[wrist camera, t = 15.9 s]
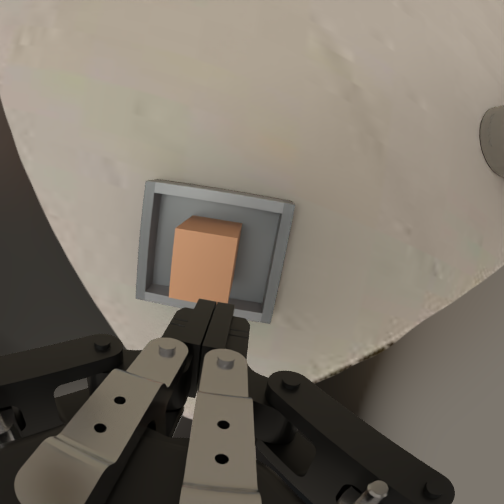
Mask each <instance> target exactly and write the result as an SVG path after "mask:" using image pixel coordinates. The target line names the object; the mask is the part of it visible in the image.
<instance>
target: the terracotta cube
mask: <svg viewBox="0 0 504 504" xmlns="http://www.w3.org/2000/svg"><path fill="white" fill-rule="evenodd" d="M241 228H242V223H237V222H231V221H225V220H219V219H213V218H207V217H200V216H194V215H193V216H191V217H190V218H188V219H187V220H186V221H184V222H183V223H182V224H180V225H179V226H178V227H176V228H175V236H174V245H173V255H172V265H171V276H170V287H169V298H174V299H179V300H184V301H190V302H195V303H197V301H198V299H199V298H200V299H205V300H211V301H216V305H217V302H222V303H228V300H229V296H230V292H231V287H232V283H233V278H234V271H235V265H236V259H237V252H238V246H239V240H240V234H241Z"/></svg>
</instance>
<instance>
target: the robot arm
mask: <svg viewBox="0 0 504 504" xmlns="http://www.w3.org/2000/svg"><path fill="white" fill-rule="evenodd" d="M480 140H481V147H482V151H483V154H484V156H485V159H486V161H487V163H488V164H489V166H490V167H491V168H492V170H493V171H494V172H495V173H497V174H498V175H500V176H502V177H504V106H498V107H494V108H491V109H489V110H488V111H487V112H486V114H485V115H484V117H483V119H482V122H481V128H480ZM234 308H235V305H234V304H228V303H222V302H217V305H216V301H211V300H205V299H200V298H199V299H198V301H197V304H196V306H195V308H194V309H192V308H187V307H184V308H182V309H180V310H179V311H177V312H176V313H175V315H174V317H173V319H172V320H171V322H170V324H169V325H168V327H167V329H166V330H165V332H164V334H163V336H162V337H161V338H157V339H154V340H151V341H150V342H149V343H148V344H147V345H146V346H145V348H144V349H143V350H123V344H122V342H121V341H120V340H119V339H118V338H117V337H115V336H112V335H108V334H95V335H91V336H87V337H83V338H79V339H75V340H70V341H66V342H62V343H58V344H54V345H49V346H45V347H40V348H36V349H31V350H27V351H22V352H18V353H13V354H8V355H4V356H0V504H305V503H304V502H303V501H302V500H301V499H300V498H299V497H298V496H297V494H295V492H294V491H293V490H292V489H291V488H290V487H289V486H288V485H287V484H286V483H285V482H284V481H283V480H282V479H281V478H280V477H279V476H278V475H277V474H276V473H275V472H274V471H273V470H272V469H271V468H269V467H268V466H266V465H265V464H263V463H261V462H260V461H258V460H256V454H255V446H256V447H257V448H258V449H259V450H260V451H261V452H262V454H263V455H264V456H265V457H266V458H267V459H268V460H269V461H270V462H271V463H272V464H273V465H274V466H275V467H276V468H277V469H278V470H279V471H280V472H281V473H282V474H283V475H284V476H285V477H286V478H287V479H288V480H289V481H290V482H291V483H292V484H293V485H294V486H295V487H296V488H297V489H298V490H299V491H301V492H302V493H303V494H304V495H305V496H306V497H307V498H308V499H309V500H310V501H311V502H312V503H314V504H451V503H452V502H453V500H454V496H455V491H454V487H453V485H452V483H451V482H450V481H449V479H447V478H446V477H445V476H443V475H442V474H440V473H439V472H437V471H436V470H434V469H432V468H431V467H430V466H428V465H426V464H425V463H423V462H422V461H420V460H419V459H417V458H416V457H414V456H413V455H412V454H410V453H408V452H407V451H405V450H404V449H403V448H401V447H400V446H398V445H397V444H395V443H394V442H392V441H391V440H390V439H388V438H387V437H385V436H384V435H382V434H381V433H379V432H378V431H377V430H375V429H374V428H373V427H371V426H370V425H368V424H367V423H365V422H364V421H363V420H362V419H360V418H359V417H357V416H356V415H355V414H353V413H352V412H351V411H349V410H348V409H346V408H345V407H344V406H343V405H341V404H340V403H339V402H337V401H336V400H334V399H333V398H332V397H330V396H329V395H328V394H327V393H325V392H324V391H323V390H321V389H320V388H319V387H317V386H316V385H315V384H314V383H312V382H311V381H310V380H308V379H307V378H306V377H304V376H303V375H301V374H299V373H296V372H292V371H278V372H275V373H273V374H272V375H271V376H270V377H269V378H268V377H265V376H262V375H260V374H258V373H256V372H254V371H253V370H252V369H251V368H250V367H249V366H248V364H247V360H246V358H247V349H248V339H249V330H250V324H249V323H248V321H247V320H246V318H241V317H236V316H233V314H234ZM86 377H87V382H88V388H87V389H84V390H80V391H77V392H74V393H70V394H67V395H63V396H61V397H57V398H54V391H55V389H56V388H57V387H58V386H60V385H62V384H65V383H69V382H73V381H76V380H80V379H83V378H86ZM197 390H198V392H197ZM196 393H197V398H196V404H195V410H194V416H193V422H192V428H191V435H190V438H172V437H173V435H174V432H175V430H176V428H177V426H178V423H179V421H180V418H181V417H182V414H183V412H184V404H185V403H186V400H187V397H193V398H195V396H196ZM297 429H298V430H300V431H301V432H302V433H303V434H304V435H305V436H306V437H307V438H309V439H310V440H311V441H312V442H313V444H314V445H315V446H313V445H312V444H311V443H310V442H309V441H308V440H307V439H305V438H304V437H303V436H302V435H301V434H300V433H299V432H297Z"/></svg>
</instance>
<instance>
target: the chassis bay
mask: <svg viewBox="0 0 504 504" xmlns="http://www.w3.org/2000/svg"><path fill="white" fill-rule="evenodd" d="M294 208H295V204H294V203H293V202H292V201H288V200H283V199H278V198H272V197H267V196H261V195H255V194H250V193H244V192H238V191H232V190H226V189H220V188H213V187H207V186H200V185H194V184H187V183H180V182H173V181H166V180H158V179H156V180H148V181H146V183H145V191H144V199H143V208H142V217H141V227H140V238H139V251H138V265H137V282H136V299H140V300H145V301H149V302H154V303H159V304H163V305H168V306H173V307H178V308H184V307H187V308H192V309H194V308H195V306H196V304H197V303H195V302H190V301H184V300H179V299H174V298H169V287H170V276H171V265H172V255H173V245H174V236H175V228H176V227H178V226H179V225H180V224H182V223H183V222H184V221H186V220H187V219H188V218H190V217H191V216H193V215H194V216H200V217H207V218H213V219H219V220H225V221H231V222H237V223H242V228H241V234H240V240H239V246H238V252H237V259H236V265H235V271H234V278H233V283H232V287H231V292H230V296H229V300H228V304H234V305H235V308H234V314H233V316H236V317H241V318H246V320H249V321H255V322H262V323H268V324H270V323H271V318H272V314H273V309H274V305H275V300H276V296H277V291H278V286H279V282H280V277H281V272H282V268H283V263H284V258H285V253H286V248H287V243H288V239H289V234H290V229H291V224H292V219H293V214H294Z"/></svg>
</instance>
